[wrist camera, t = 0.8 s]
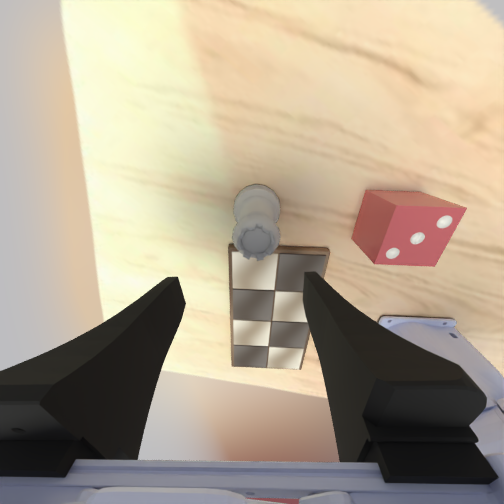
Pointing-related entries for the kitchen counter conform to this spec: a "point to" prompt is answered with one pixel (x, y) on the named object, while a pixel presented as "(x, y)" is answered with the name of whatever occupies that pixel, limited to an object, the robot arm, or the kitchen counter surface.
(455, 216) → the die
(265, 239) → the rook chess piece
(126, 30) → the kitchen counter surface
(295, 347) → the game board
